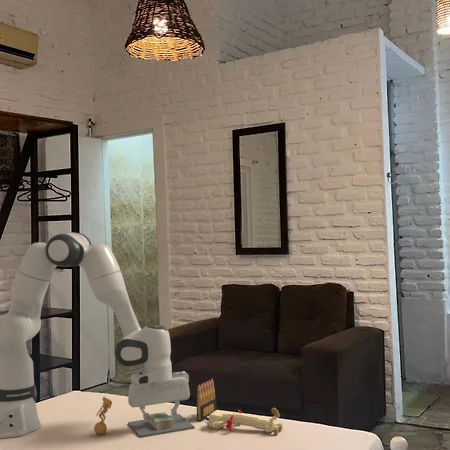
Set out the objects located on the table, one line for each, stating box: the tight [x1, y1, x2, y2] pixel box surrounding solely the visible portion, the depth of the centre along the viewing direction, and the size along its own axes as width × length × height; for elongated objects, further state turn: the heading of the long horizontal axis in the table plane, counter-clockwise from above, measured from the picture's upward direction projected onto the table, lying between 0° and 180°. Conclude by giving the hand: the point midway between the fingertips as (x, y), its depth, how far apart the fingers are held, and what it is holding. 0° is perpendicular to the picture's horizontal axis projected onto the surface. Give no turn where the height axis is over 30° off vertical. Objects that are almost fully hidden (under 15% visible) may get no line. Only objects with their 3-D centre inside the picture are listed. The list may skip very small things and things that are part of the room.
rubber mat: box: [127, 413, 196, 438], centre depth 201 cm, size 18×16×1 cm
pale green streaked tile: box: [149, 411, 174, 430], centre depth 200 cm, size 6×2×10 cm
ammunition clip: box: [196, 378, 218, 422], centre depth 209 cm, size 11×2×12 cm, turn 152°
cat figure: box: [204, 407, 283, 436], centre depth 194 cm, size 10×9×25 cm
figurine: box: [93, 396, 113, 436], centre depth 195 cm, size 8×6×12 cm
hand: (160, 416), depth 201 cm, fingers open, 8 cm apart
